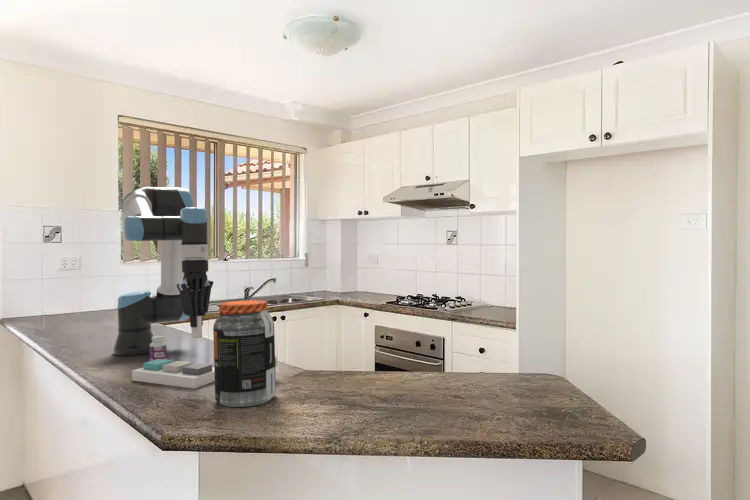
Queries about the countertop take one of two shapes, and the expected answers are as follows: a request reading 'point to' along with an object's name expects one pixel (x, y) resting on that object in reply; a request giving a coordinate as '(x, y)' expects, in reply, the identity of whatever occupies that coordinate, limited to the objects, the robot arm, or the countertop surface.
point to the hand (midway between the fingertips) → (196, 337)
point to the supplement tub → (244, 354)
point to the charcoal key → (197, 369)
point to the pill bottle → (158, 348)
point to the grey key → (175, 366)
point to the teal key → (156, 364)
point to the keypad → (173, 378)
